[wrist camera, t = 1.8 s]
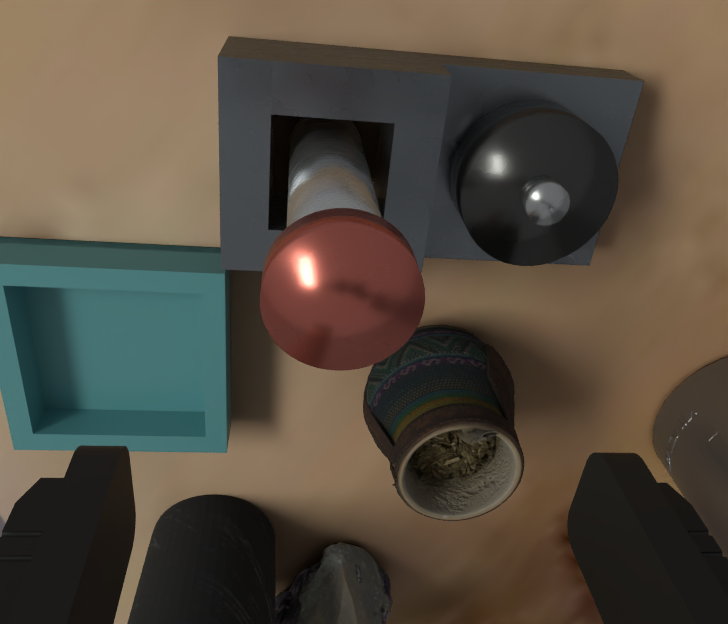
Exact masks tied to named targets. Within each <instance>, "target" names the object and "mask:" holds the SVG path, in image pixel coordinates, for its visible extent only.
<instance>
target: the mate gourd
mask: <svg viewBox="0 0 728 624" xmlns="http://www.w3.org/2000/svg"><path fill="white" fill-rule="evenodd" d="M514 394H515V392H514V383H513V379H512V376H511V373H510V371H509V369H508V368H507V366H506V364H505V362H504V361H503V359H502V357H501V356H500V355H499V354H498V352H497V351H496V350H495V349H494V348H493V347H492V346H490V345H488V344H484V343H483V342H481V341H480V340H479V339H478V338H477V337H475V336H474V335H473V334H472V333H470V332H468V331H466V330H463V329H460V328H456V327H452V326H445V325H444V326H443V325H434V326H424V327H419V328H417V329H416V330H415V332H414V333H413V335H412V336H411V337H410V339H409V340H408V341H407V342H406V343H405V344H404V345H403V346H402V347H401V348H400V349H399V350H397V351H396V352H395V353H394V354H392V355H391V356H389V357H387V358H386V359H384V360H382V361H380V362H378V363H375V364H374V365H373V367H372V369H371V372H370V374H369V376H368V381H367V384H366V387H365V391H364V401H363V412H364V418H365V421H366V424H367V426H368V429H369V431H370V433H371V435H372V437H373V438H374V441H375V443H376V444H377V447H378V448H379V449H380V450H381V452H382V453H383V454H384V455H385V456H386V457H387V458H388V460H389V461H390V470H391V472H392V475H393V478H394V480H395V484H392V485H393V486H395V488H396V489H397V492H398V494H399V496H400V497H401V499H403V501H404V502H405V503H406V505H408V506H409V507H410V508H411V509H413V510H415V511H416V512H417V513H420V514H422V515H424V516H427V517H430V518H433V519H438V520H444V521H446V520H447V521H459V520H466V519H471V518H475V517H478V516H481V515H483V514H486V513H488V512H490V511H492V510H494V509H496V508H497V507H498V506H500V505H501V504H502V503H504V502H505V501H506V500H507V499H508V498H509V497H510V496H511V495H512V493H513V492H514V491H515V490H516V488H517V486H518V485H519V483H520V481H521V478H522V475H523V470H524V457H523V452H522V449H521V447H520V444H519V441H518V437H517V434H516V431H515V429H514V407H515V404H514Z"/></svg>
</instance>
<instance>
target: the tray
mask: <svg viewBox="0 0 728 624" xmlns="http://www.w3.org/2000/svg"><path fill="white" fill-rule="evenodd" d="M0 389H1V393H2V398H3V402H4V406H5V411H6V415H7V420H8V424H9V429H10V433H11V438H12V442H13V447H14V450H76V449H77V447H78V446H80V445H85V446H126V447H127V448H128V451H146V452H216V453H227V448H228V440H229V433H230V425H231V317H230V270H224V269H221V248H215V247H195V246H175V245H155V244H135V243H115V242H95V241H75V240H55V239H34V238H14V237H0Z"/></svg>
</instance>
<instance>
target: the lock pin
mask: <svg viewBox="0 0 728 624" xmlns="http://www.w3.org/2000/svg"><path fill="white" fill-rule="evenodd" d="M424 304H425V288H424V284H423V279H422V276H421V273H420V270H419V267H418V264H417V261H416V258H415V255H414V252H413V250H412V248H411V246H410V244H409V242H408V241H407V239H406V238H405V237H404V236H403V234H402V233H401V232H400V231H399V230H398V229H397V228H396V227H395V226H393V225H392V224H391V223H389V222H388V221H387V220H385V219H383V218H382V217H381V213H380V210H379V206H378V202H377V198H376V194H375V191H374V187H373V183H372V179H371V176H370V172H369V168H368V164H367V160H366V157H365V153H364V149H363V145H362V142H361V138H360V134H359V132H358V129H357V127H356V126H355V124H354V123H353V122H352V121H351V120H340V119H326V118H312V117H303V118H302V119H301V120H300V121H299V122H298V123H297V124H296V126H295V128H294V129H293V132H292V134H291V138H290V155H289V181H288V206H287V228H286V229H285V230H284V231H283V232H282V233H281V234H280V235H279V236H278V237H277V238H276V240H275V241H274V242H273V244H272V246H271V247H270V249H269V251H268V253H267V256H266V258H265V262H264V266H263V272H262V282H261V292H260V310H261V315H262V319H263V322H264V325H265V327H266V329H267V331H268V333H269V334H270V336H271V337H272V339H273V340H274V341H275V343H276V344H277V345H278V346H279V347H280V348H281V349H282V350H283V351H285V352H286V353H287V354H289V355H290V356H291V357H293V358H295V359H297V360H298V361H300V362H303V363H305V364H307V365H310V366H313V367H317V368H321V369H327V370H352V369H359V368H363V367H367V366H370V365H373V364H375V363H378V362H380V361H382V360H384V359H386V358H387V357H389V356H391V355H392V354H394V353H395V352H396V351H397V350H399V349H400V348H401V347H402V346H403V345H404V344H405V343H406V342H407V341H408V340H409V339H410V337H411V336H412V335H413V333H414V332H415V330H416V328H417V326H418V325H419V322H420V320H421V317H422V314H423V310H424Z"/></svg>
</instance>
